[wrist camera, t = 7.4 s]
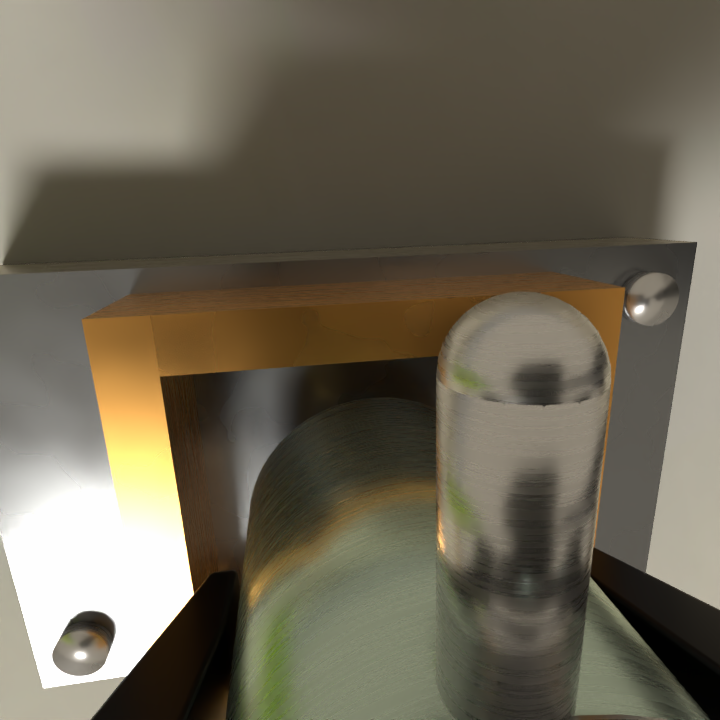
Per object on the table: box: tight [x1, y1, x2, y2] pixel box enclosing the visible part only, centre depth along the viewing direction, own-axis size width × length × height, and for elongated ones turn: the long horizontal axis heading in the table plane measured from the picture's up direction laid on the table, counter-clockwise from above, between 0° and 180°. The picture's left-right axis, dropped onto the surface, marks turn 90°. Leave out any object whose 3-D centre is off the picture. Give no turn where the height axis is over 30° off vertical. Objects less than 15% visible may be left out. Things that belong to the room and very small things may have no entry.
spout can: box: [225, 292, 711, 720], centre depth 6 cm, size 5×8×7 cm, turn 2°
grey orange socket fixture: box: [0, 237, 697, 688], centre depth 12 cm, size 18×10×5 cm, turn 92°
